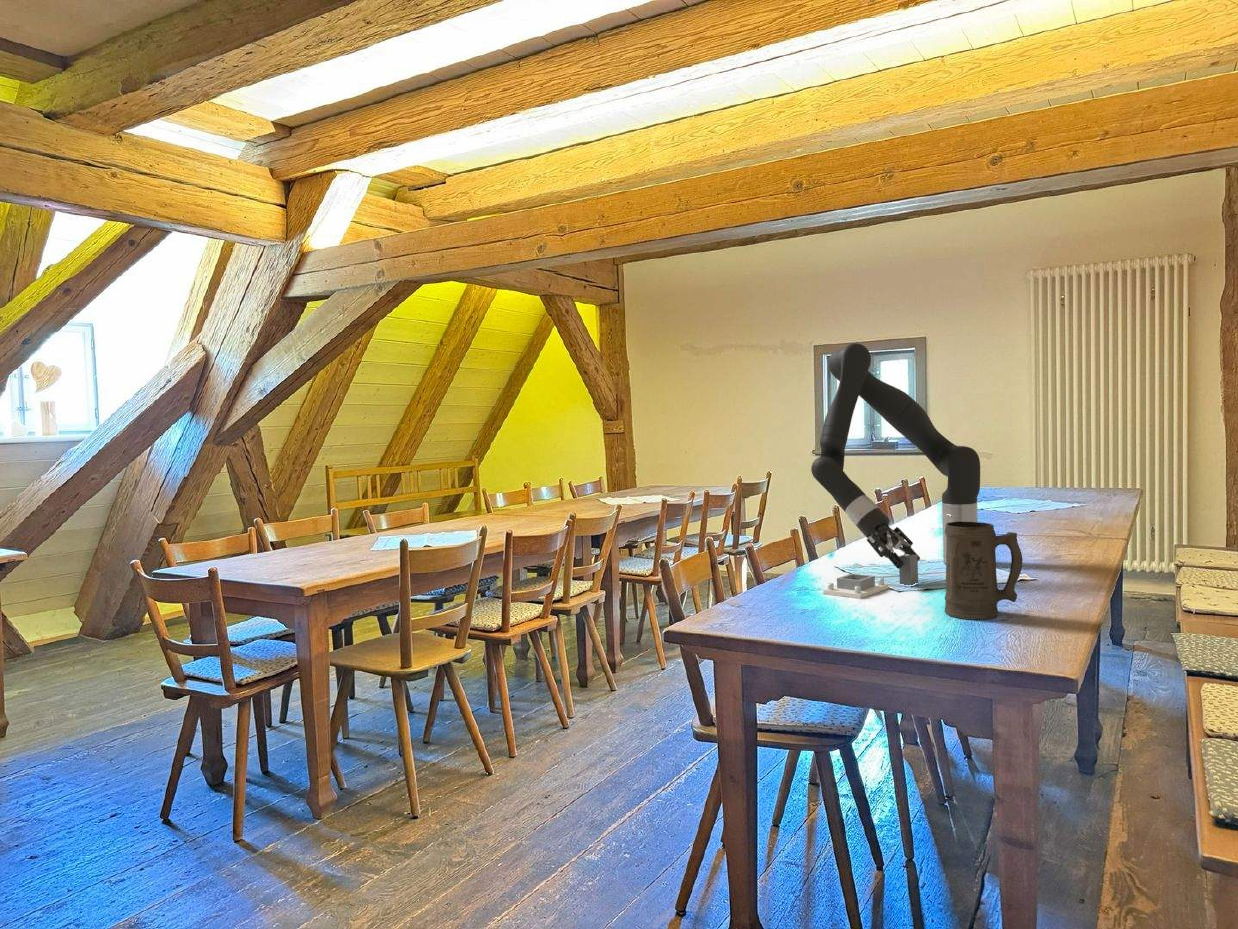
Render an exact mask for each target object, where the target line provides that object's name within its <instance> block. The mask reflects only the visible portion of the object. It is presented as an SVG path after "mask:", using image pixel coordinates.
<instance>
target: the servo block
mask: <svg viewBox="0 0 1238 929" xmlns="http://www.w3.org/2000/svg"><path fill="white" fill-rule="evenodd" d="M898 556H899V557H900V558H901V559H902V560H903V561H904V565H903V566H902V567H901V568H899V571H898V572H899V585H900V584H904V585H913V584H915V583H918V584H919V568H918V567H919V561H918V556H919V554H917V555H912V554H903V555H898Z"/></svg>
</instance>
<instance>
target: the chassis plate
mask: <svg viewBox="0 0 1238 929" xmlns="http://www.w3.org/2000/svg"><path fill="white" fill-rule="evenodd" d="M875 577H876V576H875V575H866V574H859V573H849V574H845V575H843V576H840V577H836V585H834V583H833V582H828V583H827V588H825V589H823V590H822V591H823V595H830V596H835V595H837V596H838V595H839V596H838V597H843V596H846V597H845V598H850V597H851V599H859V600H860V599H863V598H866V597H868V596H871V595H872V596H873V595H874V594H878V593H879V592H880V593H881V592H883V591H885V590H888V589H889V586H890V585H889V584H888V583H885V578H883V577H880V578H877V582H876V578H875ZM837 596H836V597H837Z"/></svg>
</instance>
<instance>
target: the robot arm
mask: <svg viewBox="0 0 1238 929" xmlns="http://www.w3.org/2000/svg"><path fill="white" fill-rule="evenodd" d="M871 363H872V356H871V352H870V350H869V349H868V348H867V347H866V346H865V345H863V344H861V343H859V342H858V343H855V342H854V343H850V344H848V345H846V346H844V347H840V348H838V349H837V350H836V351H834V352H832V353H831V355H830V356H829V357H828V362H827V364H828V369H829V372H830V373H831V375H832V376H833V377H834V378H835V379H836V380H837V381H838V382H839V383H838V387H837V391H836V393H835V396H834V398H833V400H832V402H831V405H830V406H829V408H828V410H827V413H826V415H825V418H824V421H823V425H822V430H821V434H820V441H819V446H820V456H819V457H816V459H814V461H813V462H812V464H811V468H810V469H811V470H810V471H811V475H812V477H813V478H814V479H815V480H816V481H817V482H818V484H820V485H821V486H822V487H823V488H824V489H825V491H827V492H828V493H829V495H831V497H832V498H833V500H834V501H835V502H836V503H837V505H838V506H839V507H840V508H841V509H842V511H844V512H845V514H846V515H847V517H848V518H849V519H850V521H851V522H852V523H853V524H854V525H855V526H856V527H857V529H858V530H859V531H860V532H861V533H862V534H863V535H864V537H865V538H866V542H868V544H869V545H870V547H871V548H872V549H873V550H874V551H875V552H876V554H877V555H878V556H879V557H880V558H883V557H885V559H888V560H889V561H890V562H891V564H893V565H894V567H895V568H897V569H899V568H901V567H902V566H903V565H904V561H903V560H902V559H901V558H900V557H899V556H900V555H898V554H897V553H896V552H895V550H899V551H900V552H903V553H904V554H912V555H918V554H917V552H916V551H915V550H914V549H913V548H912V545H914V543H913V541H912V540H911V539H910V538H909V537H908V536H907V535H906V533H904V532H903V530H901V529H900V528H899V527H898V526H896V527H895V528H893V529H892V528H891V527H890V526H889V525H890V524H891V523H890V521H891V520H890V519H889V516H887V514H885V512H883V510H882V509H881V508H880V507H879V506H878V505H877V504H876V503H875V502H874V501H873V500H872V499H871V498H870V497H869V496H868V495H866V493H865V492H864V491H863V490H862V489H861V488H860V487H859V485H857V483H855V482H854V481H852V479H850V477H849V476H848V474H846V472H845V470H844V466H845V455H846V454H845V452H846V451H845V450H846V447H847V443H848V437H849V432H850V429H851V423H852V419H853V416H854V412H855V409H856V404H857V402H858V399H859V397H860V398H861V399H863V401H864V402H866V404H868V405H869V406H870V407H871V408H872V409H873V410H874V411H876V413H878V415H880V416H881V417H882V419H883V420H885V421H886V422H887V423H888V424H889V425H890V426H891V427H892V428H894V430H895V431H897V432H898V433H900V434H901V435H902V436H903V437H904V438H905V439H906V440H907V441H909V442H910V443H911V444H912V445H914V446H915V448H918V449H919V451H921V452H922V453H923V454H924V455H925V457H926V458H927V459H928V460H929V461H930V462H931V464H932V465H933V466H934V467H935V468H936V469H937V470H938V471H939V472H940V473H941V474H942V475H944V476H945V477H947V487H946V490H945V491H944V492H942V494H941V516H942V517H941V519H942V556H943V557H942V558H943V563H944V564H945V563H946V542H947V537H946V534H945V528H946V524H947V523H950V522H958V521H959V522H978V516H979V515H978V496H979V494H980V490H981V461H980V456H979V455H978V453H977V451H976V450H975V449H974V448H973V447H972V448H971V447H970V446H964V445H957V444H955V443H953V442H951V441H950V440H949V439H948V438H946V437H945V436H944V435H943V434H941V433H940V431H938V430H937V427H935V425H934V424H933V422H932V420H931V419H930V417H929V415H928V413H927V412H926V411H925V409H924V408H923V407H922V405H920V403H918V402H917V401H916V400H915V399H914V398H913V397H911V396H910V395H909V394H908V393H906V392H905V391H903V390H901V389H900V388H897V387H895V386H893V385H891V384H890V383H886V382H885V381H882V380H880V379H879V378H878V377H877V376H874V375H873V373H871V371H870V367H871ZM904 554H903V555H904ZM920 560H921V557H920V556H919V555H918V562H919V561H920Z"/></svg>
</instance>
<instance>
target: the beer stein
mask: <svg viewBox="0 0 1238 929" xmlns="http://www.w3.org/2000/svg"><path fill="white" fill-rule="evenodd" d="M945 534H946V537H947V542H946V564H945V595H944V600H945V602H944V603H945V605H944V613H945V615H948V616H950V617H953V618H957V619H961V620H973V619H980V620H989V619H991V620H992V619H995V618H997V617H998V615H999V610H998V603H999V602H1000V601H1003V600H1008V601H1010V602H1013V603H1015V602H1016V600H1017V598H1018V594H1017V592H1016V591H1015V587H1016V584H1017V581H1018V579H1020V578H1019V577H1020V575H1021V572H1022V570H1023V553H1022V550H1021V548H1020V545H1019V543H1018V533H1017V532H1011V531H1010V532H1009V531H1008V532H1006V534H1000V535H996V534H997V533H996V530H995V526H994V524H992V523H987V522H959V521H958V522H950V523H947V524H946V528H945ZM1000 545H1001V546H1003V545H1004V546H1007V548H1008V549H1009V550H1010V554H1011V555H1010V556H1011V558H1010V560H1011V562H1010V569H1009V575H1008V577H1007V581H1006V584H1005V586H1004V587H1003V589H999V588H998V579H997V578H998V577H997V556H996V549H997V547H998V546H1000Z"/></svg>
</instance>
